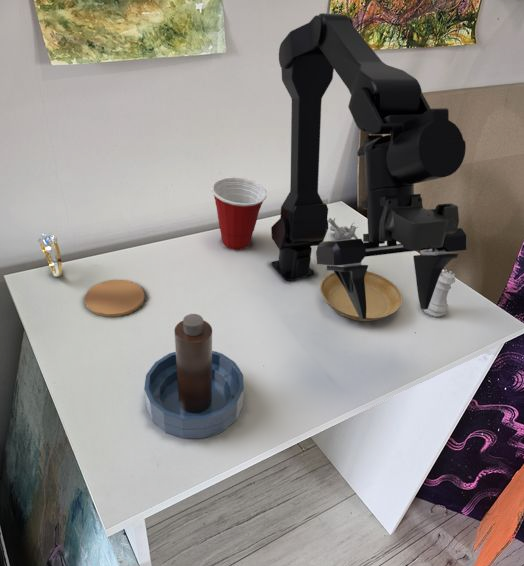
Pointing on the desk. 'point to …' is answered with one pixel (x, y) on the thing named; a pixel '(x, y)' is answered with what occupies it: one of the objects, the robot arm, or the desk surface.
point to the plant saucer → (378, 292)
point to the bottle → (194, 363)
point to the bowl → (186, 424)
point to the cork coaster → (114, 298)
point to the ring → (51, 253)
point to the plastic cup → (237, 209)
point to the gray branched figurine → (342, 231)
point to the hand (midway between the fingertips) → (394, 313)
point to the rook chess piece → (440, 295)
